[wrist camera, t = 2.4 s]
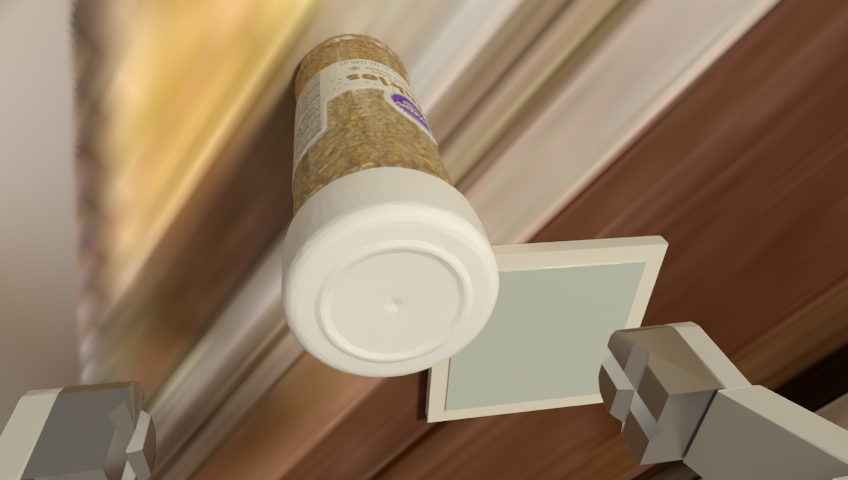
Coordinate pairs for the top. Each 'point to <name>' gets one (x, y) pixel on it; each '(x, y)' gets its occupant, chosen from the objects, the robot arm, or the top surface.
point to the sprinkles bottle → (377, 223)
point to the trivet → (548, 327)
